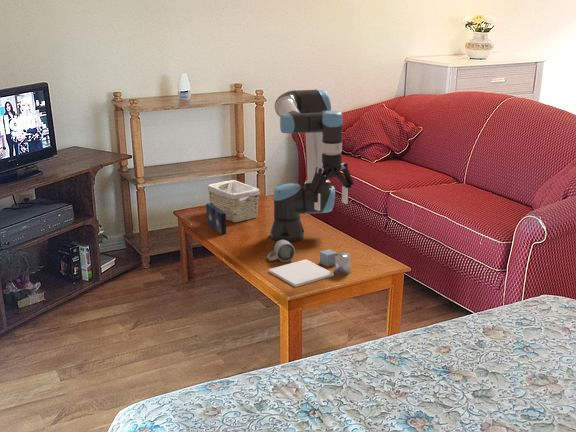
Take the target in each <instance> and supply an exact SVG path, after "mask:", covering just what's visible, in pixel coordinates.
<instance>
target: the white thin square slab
mask: <svg viewBox="0 0 576 432" xmlns="http://www.w3.org/2000/svg"><path fill="white" fill-rule="evenodd" d="M268 273H270V274H272V275H273V276H276V277H277V278H278V279H280V280H283V281H284V282H286V283H288V284H289V285H291V286H293V287H294V288H297V287H301V286H303V285H307V284H311V283H314V282H318V281H321V280H324V279H328V278H331V277H334V276H335V272H332V271H330V270H328V269H326V268H324V267H322V266H320V265H318V264H316V263H314V262H313V261H310V260H309V259H302V260H299V261H295V262H289V263H287V264H283V265H280V266H276V267H272V268H269V269H268Z"/></svg>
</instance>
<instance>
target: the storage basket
mask: <svg viewBox="0 0 576 432" xmlns="http://www.w3.org/2000/svg"><path fill="white" fill-rule="evenodd" d="M225 188H226V189H225ZM222 189H223V190H222ZM207 191H208V195H209V196H208V197H209V198H208V199H209V203H211V204H213V205H214V206H216V207H217V208H219V209H220V210H221V211H223V212H224V213H226V221H229V222H232V223H238V222H243V221H247V220H252V219H255V218H257V217H258V213H259V212H258V211H259V199H260V198H259V197H260V194H261V192H260V188H258V187H254V186H252V185H249V184H246V183H243V182H241V181H238V180H235V179H230V180H225V181H219V182H216V183H210V184H208V186H207Z"/></svg>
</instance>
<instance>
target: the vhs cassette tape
mask: <svg viewBox="0 0 576 432" xmlns="http://www.w3.org/2000/svg"><path fill="white" fill-rule="evenodd" d="M205 206H206V209H205V210H206V211H205V212H206V225H208V226H209V227H211V228H212V229H213V230H214V231H216V232H217V233H218V234H220V235H227V219H226V213H224V212H223V211H221V210H220V209H219V208H217V207H216V206H214V205H213V204H211V203H210V202H208V203H205Z"/></svg>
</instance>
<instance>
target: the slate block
mask: <svg viewBox="0 0 576 432" xmlns="http://www.w3.org/2000/svg"><path fill="white" fill-rule="evenodd" d="M336 253H338V251H335V250H332V249H330V248H329V249H325V250H321V251H319V264H321V265H323V266H325V267H326V268H328V267H333V266H335V254H336Z"/></svg>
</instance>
